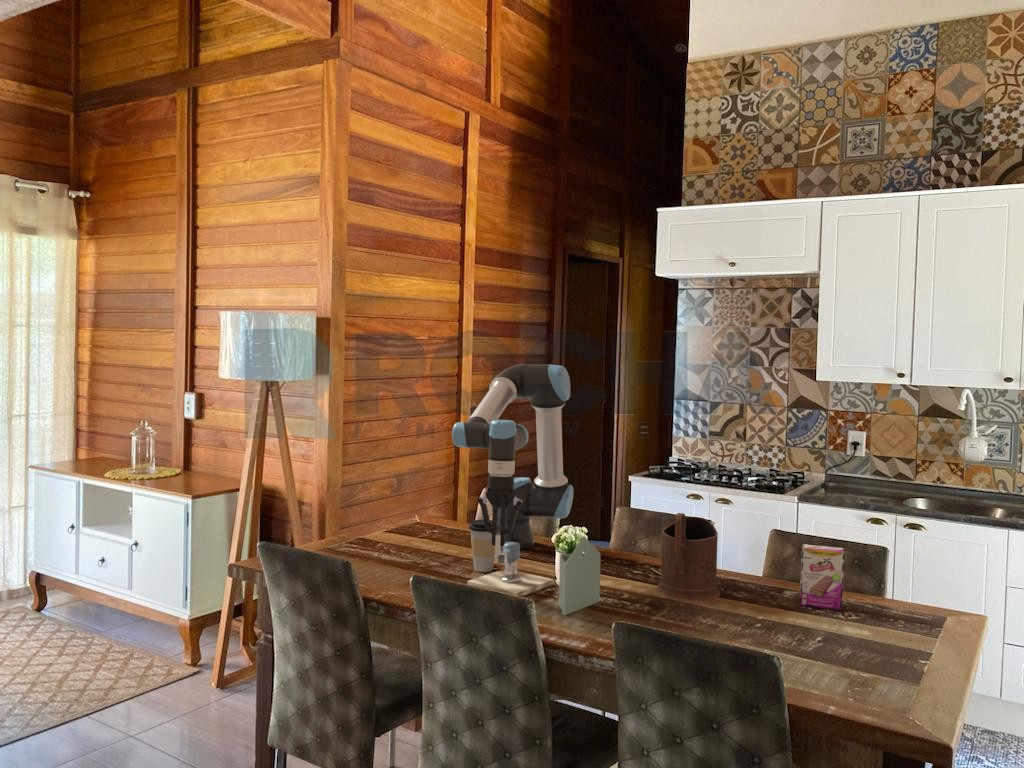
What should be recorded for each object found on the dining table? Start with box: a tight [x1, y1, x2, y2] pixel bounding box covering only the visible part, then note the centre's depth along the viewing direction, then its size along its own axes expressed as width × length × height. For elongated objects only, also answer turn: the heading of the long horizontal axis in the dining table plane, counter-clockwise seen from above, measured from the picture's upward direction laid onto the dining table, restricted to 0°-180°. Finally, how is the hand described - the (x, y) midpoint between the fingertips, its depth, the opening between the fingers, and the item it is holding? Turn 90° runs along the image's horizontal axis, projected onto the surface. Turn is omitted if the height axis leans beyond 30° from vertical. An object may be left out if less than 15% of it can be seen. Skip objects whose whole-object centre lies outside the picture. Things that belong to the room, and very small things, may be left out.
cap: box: [497, 542, 521, 565], centre depth 250 cm, size 12×5×4 cm, turn 164°
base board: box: [466, 568, 554, 597], centre depth 254 cm, size 18×18×2 cm
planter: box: [558, 535, 601, 616], centre depth 235 cm, size 16×8×20 cm, turn 140°
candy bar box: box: [799, 543, 845, 611], centre depth 239 cm, size 11×5×16 cm, turn 71°
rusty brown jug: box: [655, 512, 722, 602], centre depth 248 cm, size 18×24×25 cm
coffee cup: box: [468, 519, 499, 573], centre depth 270 cm, size 9×9×15 cm
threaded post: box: [500, 559, 521, 583], centre depth 253 cm, size 6×6×6 cm
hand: (497, 556), depth 246 cm, fingers closed
